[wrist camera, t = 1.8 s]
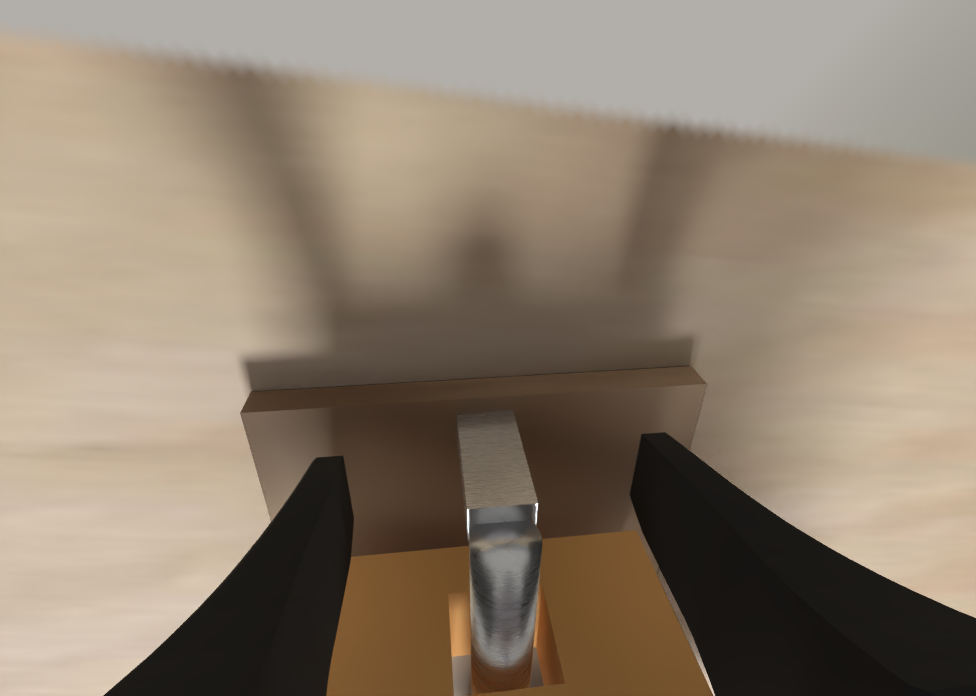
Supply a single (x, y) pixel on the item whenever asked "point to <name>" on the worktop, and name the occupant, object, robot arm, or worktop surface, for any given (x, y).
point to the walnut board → (435, 458)
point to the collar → (558, 628)
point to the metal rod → (499, 550)
